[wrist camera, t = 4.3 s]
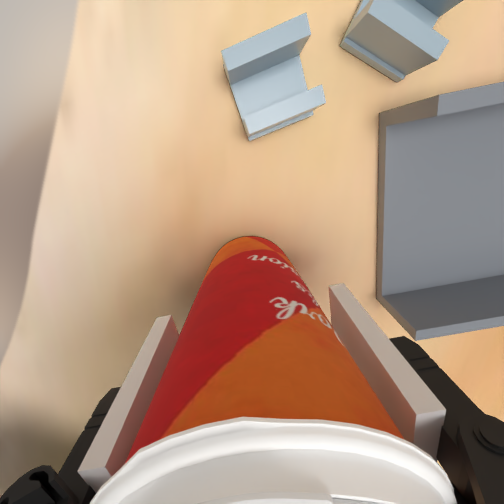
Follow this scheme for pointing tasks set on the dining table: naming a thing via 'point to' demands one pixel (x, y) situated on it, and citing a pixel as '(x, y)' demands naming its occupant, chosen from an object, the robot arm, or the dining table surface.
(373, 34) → the clip
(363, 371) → the robot arm
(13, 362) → the dining table surface
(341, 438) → the coffee cup
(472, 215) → the end holder
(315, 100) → the clip
